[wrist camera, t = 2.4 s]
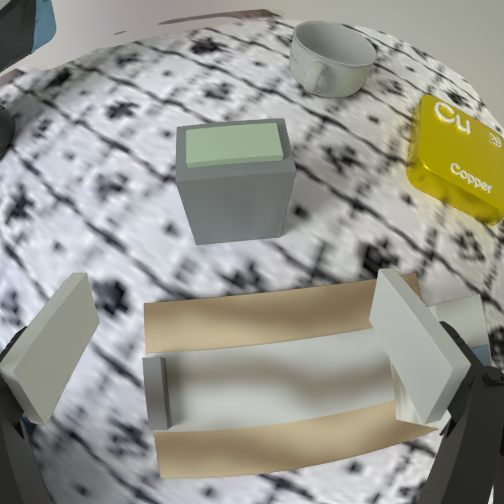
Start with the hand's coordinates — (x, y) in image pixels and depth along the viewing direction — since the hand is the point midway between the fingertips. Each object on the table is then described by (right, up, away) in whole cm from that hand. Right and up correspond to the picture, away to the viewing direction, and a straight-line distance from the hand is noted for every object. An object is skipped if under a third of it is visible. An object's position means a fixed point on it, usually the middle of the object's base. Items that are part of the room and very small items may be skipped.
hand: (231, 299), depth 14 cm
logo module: (-1, +5, +18) cm, 19 cm away
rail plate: (+5, -9, +13) cm, 16 cm away
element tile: (+28, +14, +23) cm, 39 cm away
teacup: (+10, +24, +26) cm, 37 cm away
